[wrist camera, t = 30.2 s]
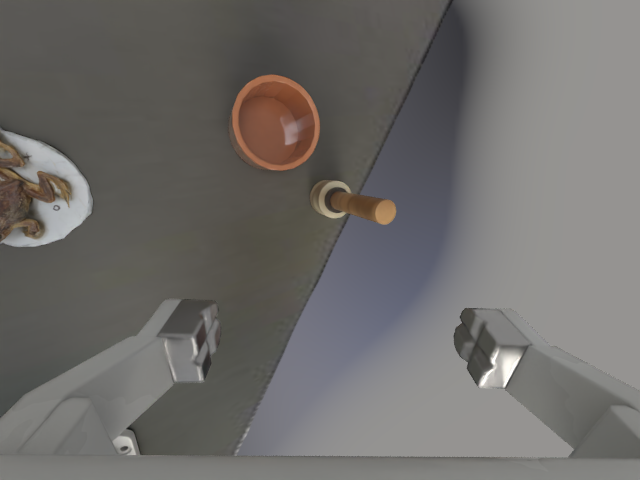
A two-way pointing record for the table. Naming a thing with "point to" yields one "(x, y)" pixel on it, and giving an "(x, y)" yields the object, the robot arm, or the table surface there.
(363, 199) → the brush
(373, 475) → the robot arm
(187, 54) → the table surface
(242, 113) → the tumbler
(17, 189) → the frog figurine
